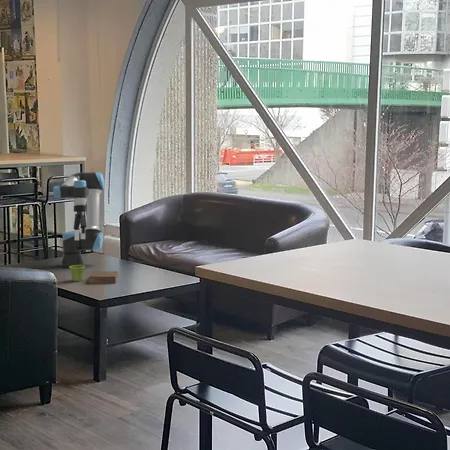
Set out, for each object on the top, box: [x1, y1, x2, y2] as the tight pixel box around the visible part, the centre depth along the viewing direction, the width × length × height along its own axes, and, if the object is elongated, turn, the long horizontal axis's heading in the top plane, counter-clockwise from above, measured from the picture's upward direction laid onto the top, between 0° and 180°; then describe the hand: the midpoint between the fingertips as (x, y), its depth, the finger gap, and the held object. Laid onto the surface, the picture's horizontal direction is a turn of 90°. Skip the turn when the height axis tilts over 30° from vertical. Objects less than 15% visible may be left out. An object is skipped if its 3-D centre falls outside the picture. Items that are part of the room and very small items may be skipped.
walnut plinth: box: [88, 270, 119, 285], centre depth 428 cm, size 16×16×4 cm
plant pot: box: [69, 264, 86, 282], centre depth 429 cm, size 9×9×9 cm
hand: (79, 239), depth 433 cm, fingers open, 13 cm apart
